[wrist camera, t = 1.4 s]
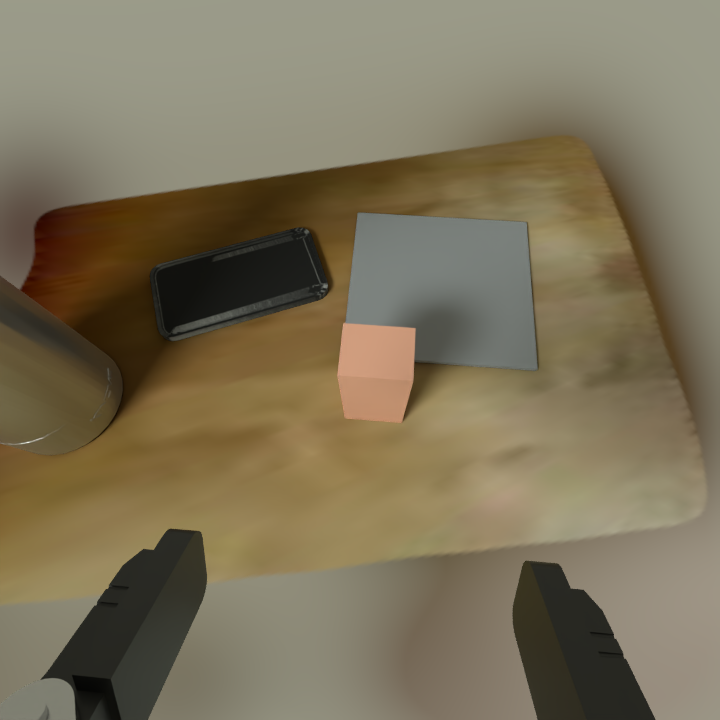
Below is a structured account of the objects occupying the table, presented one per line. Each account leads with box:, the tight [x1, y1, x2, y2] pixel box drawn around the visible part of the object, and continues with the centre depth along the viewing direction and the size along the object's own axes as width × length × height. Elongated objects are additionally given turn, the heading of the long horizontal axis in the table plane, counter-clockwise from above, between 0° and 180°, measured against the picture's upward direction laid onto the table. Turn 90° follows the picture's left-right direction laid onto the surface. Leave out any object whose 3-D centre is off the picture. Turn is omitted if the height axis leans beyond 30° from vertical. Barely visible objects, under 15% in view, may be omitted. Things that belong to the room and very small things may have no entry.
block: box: [338, 323, 416, 423], centre depth 31 cm, size 4×4×10 cm
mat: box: [346, 213, 538, 371], centre depth 39 cm, size 16×15×1 cm
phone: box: [150, 228, 328, 341], centre depth 40 cm, size 8×1×15 cm
